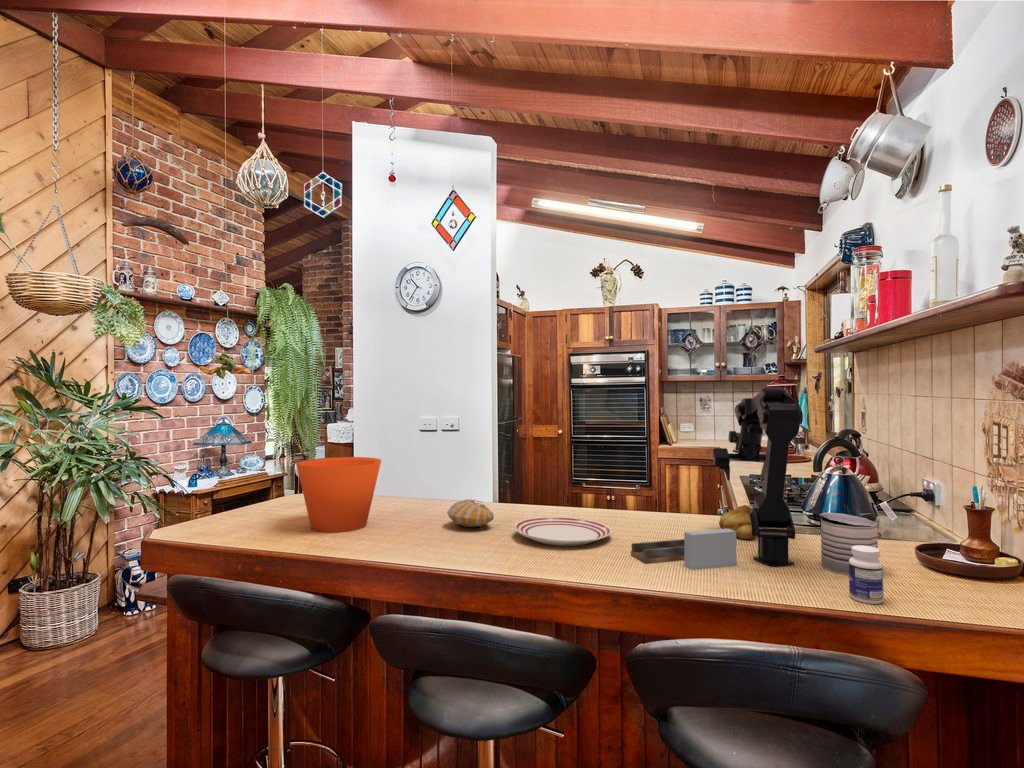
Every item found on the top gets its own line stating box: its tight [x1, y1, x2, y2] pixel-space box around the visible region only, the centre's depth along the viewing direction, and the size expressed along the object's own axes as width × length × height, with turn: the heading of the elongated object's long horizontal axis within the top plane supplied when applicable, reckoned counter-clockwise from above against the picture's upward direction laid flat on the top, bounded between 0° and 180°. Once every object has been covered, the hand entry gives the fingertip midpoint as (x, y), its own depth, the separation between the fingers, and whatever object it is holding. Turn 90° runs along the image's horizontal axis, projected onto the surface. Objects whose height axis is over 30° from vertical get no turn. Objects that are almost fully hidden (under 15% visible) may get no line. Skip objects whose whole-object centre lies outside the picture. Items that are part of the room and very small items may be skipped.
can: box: [818, 512, 879, 576], centre depth 127 cm, size 11×11×12 cm
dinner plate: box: [513, 516, 613, 547], centre depth 156 cm, size 28×27×3 cm
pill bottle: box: [848, 545, 885, 605], centre depth 108 cm, size 6×6×10 cm
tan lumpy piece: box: [718, 504, 755, 540], centre depth 158 cm, size 13×10×8 cm
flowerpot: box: [295, 456, 382, 534], centre depth 169 cm, size 25×25×20 cm
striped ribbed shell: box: [446, 498, 495, 528], centre depth 172 cm, size 8×22×15 cm
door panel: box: [683, 528, 737, 571], centre depth 130 cm, size 12×3×8 cm, turn 106°
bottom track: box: [630, 538, 684, 564], centre depth 137 cm, size 18×7×3 cm, turn 106°
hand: (744, 480), depth 163 cm, fingers open, 9 cm apart
